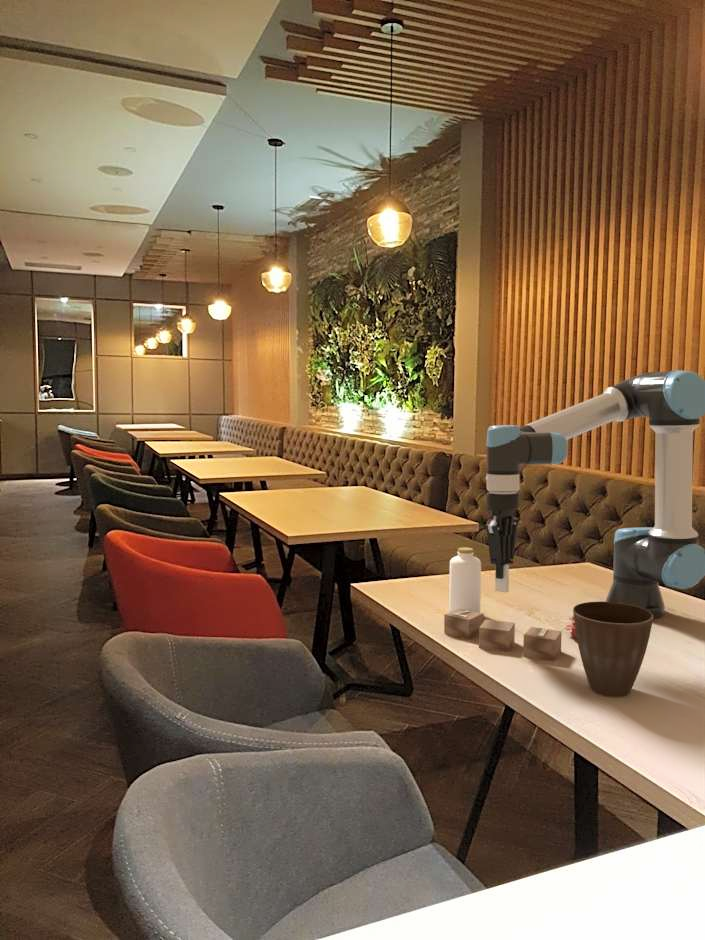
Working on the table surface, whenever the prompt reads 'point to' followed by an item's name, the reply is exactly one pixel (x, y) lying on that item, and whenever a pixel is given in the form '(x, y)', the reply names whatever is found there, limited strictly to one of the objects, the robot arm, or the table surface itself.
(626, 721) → the table surface
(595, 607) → the plant pot
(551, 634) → the marked block one
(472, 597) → the potion bottle
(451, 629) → the marked block seven
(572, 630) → the flower
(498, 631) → the plain block
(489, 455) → the robot arm
